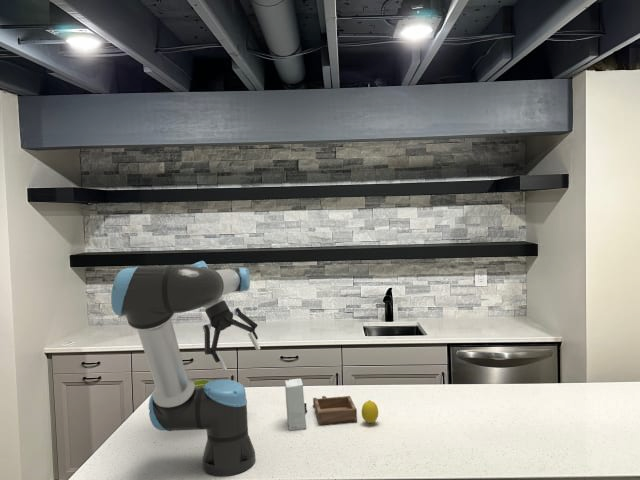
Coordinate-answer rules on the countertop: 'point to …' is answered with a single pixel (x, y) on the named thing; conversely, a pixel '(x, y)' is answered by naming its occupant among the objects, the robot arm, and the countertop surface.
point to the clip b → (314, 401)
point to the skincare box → (295, 404)
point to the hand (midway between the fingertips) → (242, 359)
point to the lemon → (369, 411)
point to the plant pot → (200, 383)
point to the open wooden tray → (335, 410)
